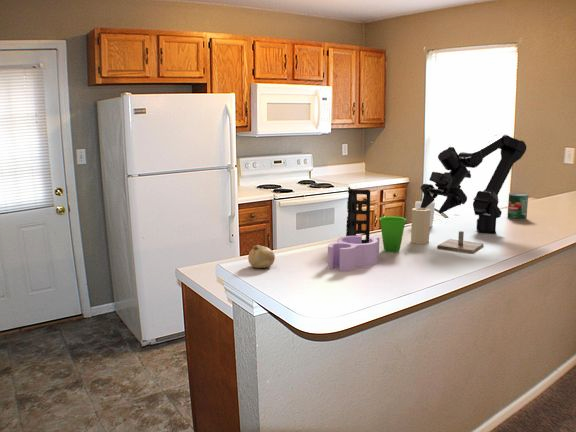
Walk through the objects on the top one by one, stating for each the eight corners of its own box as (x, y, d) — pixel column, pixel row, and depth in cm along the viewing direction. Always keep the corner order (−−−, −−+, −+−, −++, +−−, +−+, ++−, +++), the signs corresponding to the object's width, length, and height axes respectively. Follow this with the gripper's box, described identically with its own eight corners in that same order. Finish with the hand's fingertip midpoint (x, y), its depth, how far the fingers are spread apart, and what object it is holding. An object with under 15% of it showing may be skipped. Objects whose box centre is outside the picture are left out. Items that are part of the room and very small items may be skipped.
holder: (375, 244, 182) (377, 188, 179) (363, 248, 177) (364, 190, 173) (350, 239, 190) (351, 186, 186) (338, 243, 184) (338, 188, 181)
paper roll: (420, 239, 189) (421, 207, 187) (432, 242, 184) (434, 209, 182) (407, 241, 187) (408, 208, 184) (419, 244, 181) (420, 211, 179)
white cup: (432, 224, 216) (433, 201, 215) (435, 228, 209) (436, 204, 207) (413, 224, 217) (413, 200, 215) (415, 227, 209) (416, 203, 208)
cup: (406, 248, 176) (407, 217, 174) (403, 255, 167) (404, 222, 165) (380, 246, 179) (381, 215, 177) (376, 252, 170) (377, 220, 168)
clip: (353, 274, 147) (353, 251, 146) (317, 267, 155) (317, 245, 154) (385, 259, 163) (386, 238, 161) (352, 253, 170) (352, 233, 169)
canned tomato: (527, 218, 228) (529, 193, 226) (525, 220, 222) (527, 195, 220) (508, 216, 233) (510, 192, 231) (505, 219, 226) (507, 194, 224)
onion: (260, 262, 161) (260, 240, 159) (280, 266, 156) (280, 243, 154) (243, 267, 154) (242, 245, 153) (262, 272, 149) (262, 249, 148)
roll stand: (449, 241, 185) (450, 226, 184) (483, 246, 178) (484, 230, 177) (437, 248, 176) (437, 232, 175) (472, 253, 169) (473, 237, 168)
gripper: (425, 162, 193) (401, 193, 190) (463, 165, 177) (438, 199, 174) (439, 181, 198) (416, 212, 195) (478, 187, 182) (453, 220, 179)
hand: (430, 210), depth 185 cm, fingers open, 9 cm apart
